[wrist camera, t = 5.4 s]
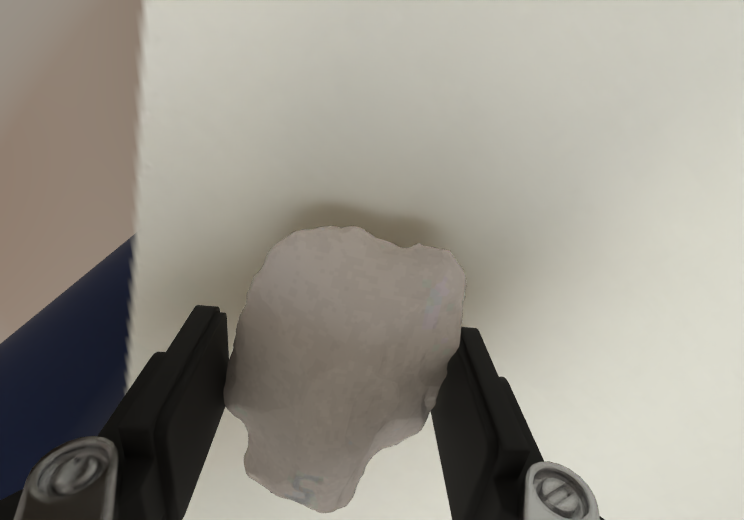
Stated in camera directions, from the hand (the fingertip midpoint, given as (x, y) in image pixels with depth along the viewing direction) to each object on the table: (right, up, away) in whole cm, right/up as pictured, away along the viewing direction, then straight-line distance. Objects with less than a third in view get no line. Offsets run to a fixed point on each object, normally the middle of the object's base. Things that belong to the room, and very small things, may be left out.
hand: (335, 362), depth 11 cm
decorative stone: (0, 0, +1) cm, 1 cm away
